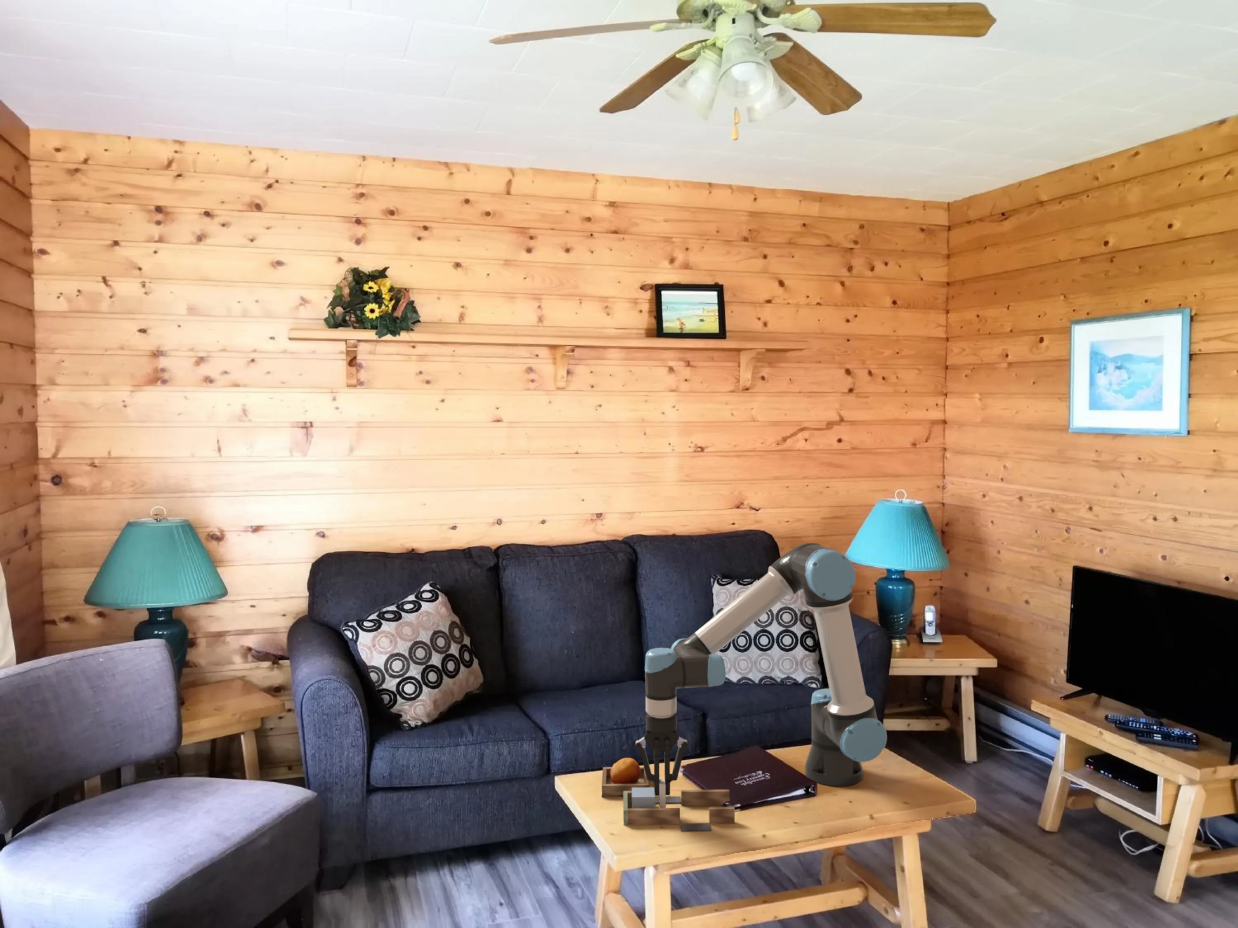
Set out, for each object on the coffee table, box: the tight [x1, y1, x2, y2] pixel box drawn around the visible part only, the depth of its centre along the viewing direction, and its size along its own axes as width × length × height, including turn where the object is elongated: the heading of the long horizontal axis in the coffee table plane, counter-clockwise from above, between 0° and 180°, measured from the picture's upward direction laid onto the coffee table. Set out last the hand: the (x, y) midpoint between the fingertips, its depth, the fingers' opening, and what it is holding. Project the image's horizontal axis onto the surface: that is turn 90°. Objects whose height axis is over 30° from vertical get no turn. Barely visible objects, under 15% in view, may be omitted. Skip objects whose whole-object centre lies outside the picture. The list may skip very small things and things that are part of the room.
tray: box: [601, 766, 650, 798], centre depth 238 cm, size 12×12×3 cm
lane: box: [622, 789, 736, 832], centre depth 222 cm, size 26×18×4 cm
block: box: [631, 786, 656, 809], centre depth 222 cm, size 6×6×6 cm
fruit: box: [610, 757, 641, 784], centre depth 238 cm, size 8×8×8 cm
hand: (662, 807), depth 222 cm, fingers closed
